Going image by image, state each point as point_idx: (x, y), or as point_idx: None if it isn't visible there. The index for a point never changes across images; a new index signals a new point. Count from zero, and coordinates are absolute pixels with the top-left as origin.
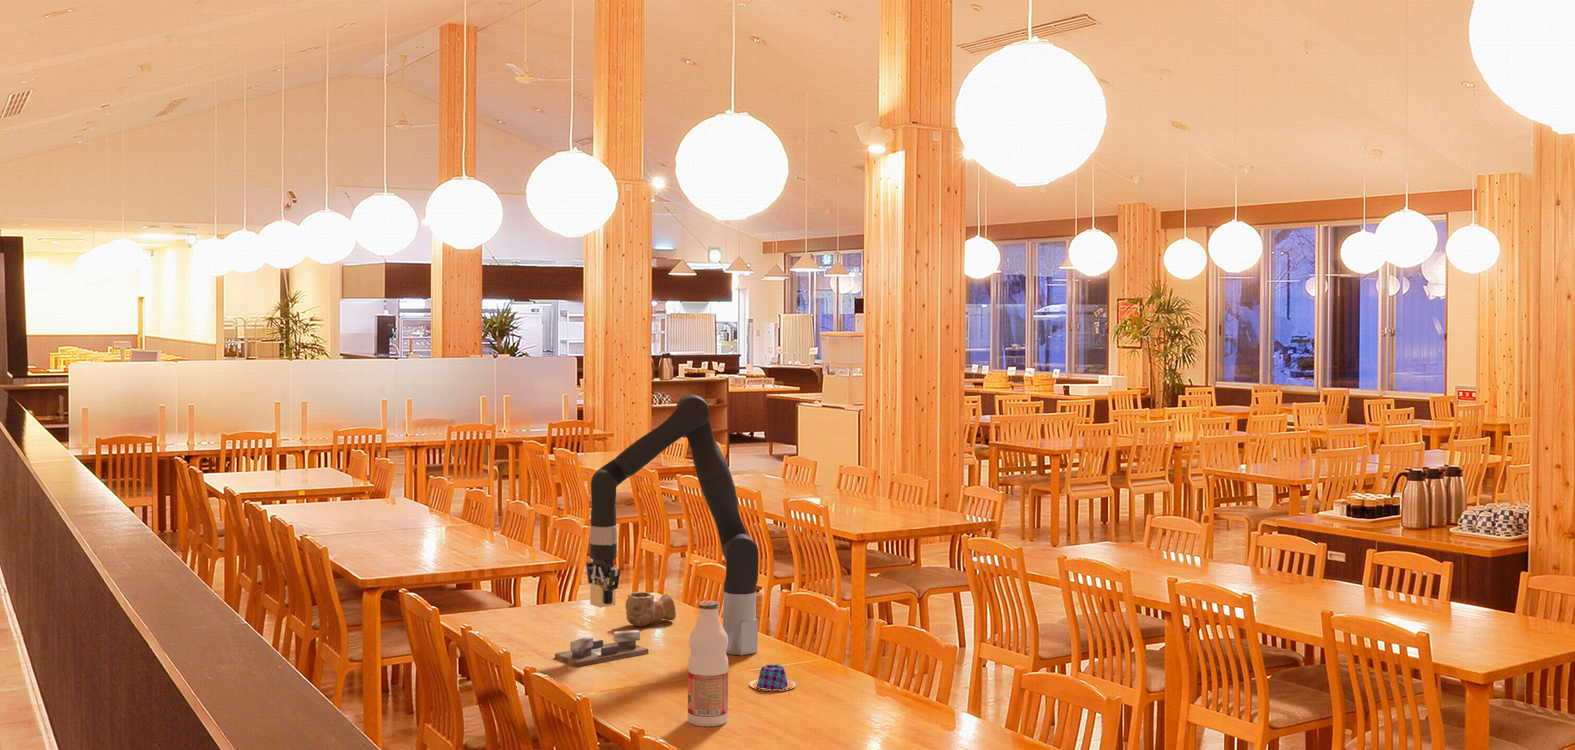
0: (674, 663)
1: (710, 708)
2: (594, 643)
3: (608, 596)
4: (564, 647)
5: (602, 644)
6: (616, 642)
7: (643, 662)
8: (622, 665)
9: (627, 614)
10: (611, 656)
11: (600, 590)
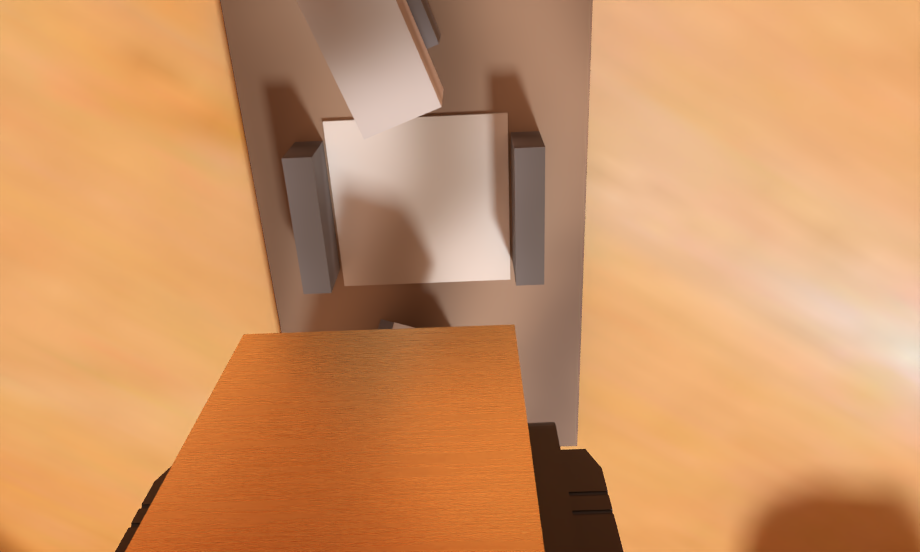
0: (25, 438)
1: None
2: (514, 204)
3: (124, 538)
4: (813, 82)
5: (514, 266)
6: (572, 391)
7: (121, 318)
8: (104, 174)
9: None
10: (256, 188)
11: (137, 537)
